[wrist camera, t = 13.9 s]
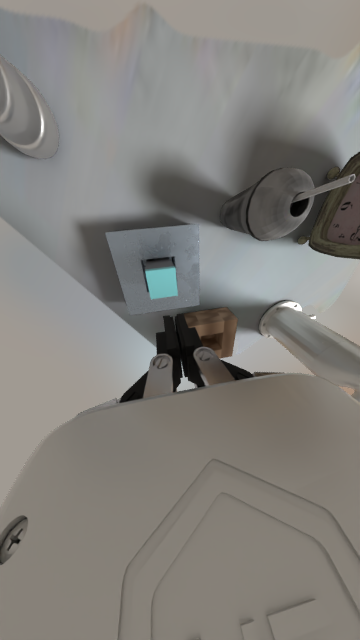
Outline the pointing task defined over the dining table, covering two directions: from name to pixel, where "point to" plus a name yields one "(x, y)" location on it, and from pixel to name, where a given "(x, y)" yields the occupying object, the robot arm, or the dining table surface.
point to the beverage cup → (275, 204)
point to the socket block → (151, 244)
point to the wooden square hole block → (215, 329)
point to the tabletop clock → (339, 216)
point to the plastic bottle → (25, 114)
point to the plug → (161, 277)
